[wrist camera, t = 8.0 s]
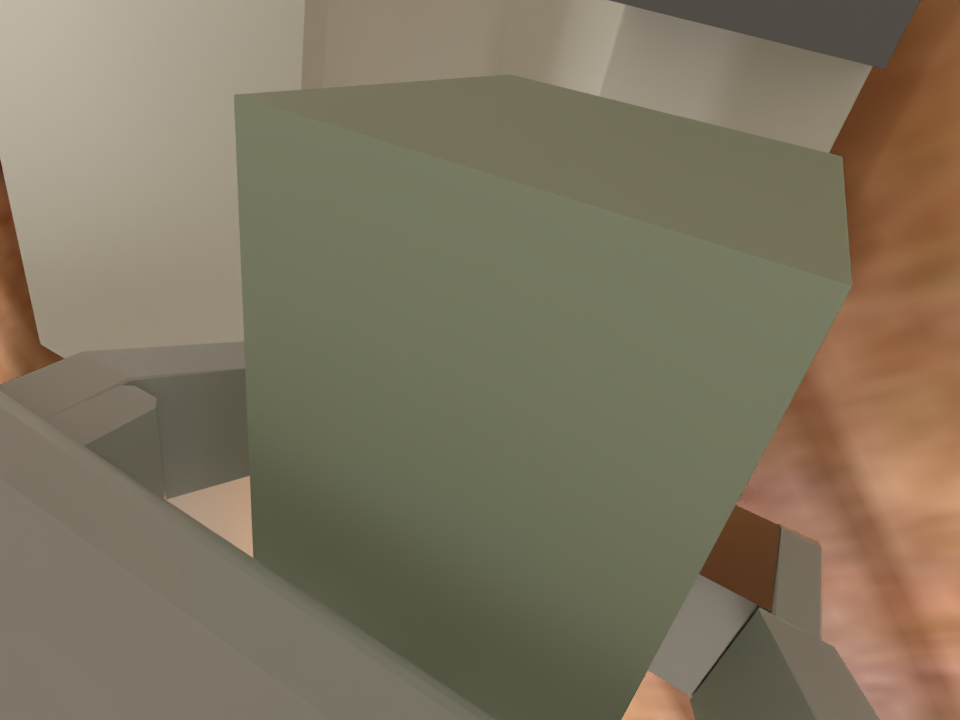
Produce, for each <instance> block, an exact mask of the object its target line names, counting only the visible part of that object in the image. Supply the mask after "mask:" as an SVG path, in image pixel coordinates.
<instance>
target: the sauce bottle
mask: <svg viewBox="0 0 960 720" xmlns="http://www.w3.org/2000/svg"><path fill="white" fill-rule="evenodd" d="M167 501H168V502H170V503H171V504H173V505H174V506H176V507H177V508H179V509H180V510H182V511H183V512H185V513H186V514H188V515H189V516H191V517H192V518H194V519H195V520H197V521H198V522H200V523H201V524H203V525H204V526H206V527H207V528H209V529H210V530H212V531H213V532H215V533H216V534H218V535H219V536H221V537H222V538H224V539H225V540H227V541H229V542H230V543H232V544H233V545H235V546H236V547H238V548H239V549H241V550H242V551H244V552H245V553H247V554H248V555H250V556H251V557H253V542H252V518H251V494H250V476H247V477H244V478H240V479H237V480H233V481H230V482H226V483H223V484H219V485H216V486H212V487H209V488H205V489H202V490H198V491H195V492H191V493H188V494H184V495H181V496H177V497H174V498H170V499H167Z"/></svg>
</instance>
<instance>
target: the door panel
mask: <svg viewBox="0 0 960 720" xmlns="http://www.w3.org/2000/svg"><path fill="white" fill-rule="evenodd" d="M234 111H235V135H236V159H237V183H238V207H239V231H240V255H241V279H242V303H243V327H244V351H245V375H246V399H247V422H248V446H249V470H250V494H251V518H252V542H253V558H254V559H256V560H257V561H259V562H260V563H262V564H263V565H265V566H266V567H268V568H269V569H271V570H272V571H274V572H275V573H277V574H278V575H280V576H281V577H283V578H284V579H286V580H287V581H289V582H290V583H292V584H293V585H295V586H296V587H298V588H299V589H301V590H302V591H304V592H305V593H307V594H308V595H310V596H311V597H313V598H314V599H316V600H317V601H319V602H320V603H322V604H323V605H325V606H327V607H328V608H330V609H331V610H333V611H334V612H336V613H337V614H339V615H340V616H342V617H343V618H345V619H346V620H348V621H349V622H351V623H352V624H354V625H355V626H357V627H358V628H360V629H361V630H363V631H364V632H366V633H367V634H369V635H370V636H372V637H373V638H375V639H376V640H378V641H379V642H381V643H382V644H384V645H385V646H387V647H388V648H390V649H391V650H393V651H394V652H396V653H397V654H399V655H400V656H402V657H403V658H405V659H406V660H408V661H409V662H411V663H412V664H414V665H415V666H417V667H418V668H420V669H421V670H423V671H424V672H426V673H428V674H429V675H431V676H432V677H434V678H435V679H437V680H438V681H440V682H441V683H443V684H444V685H446V686H447V687H449V688H450V689H452V690H453V691H455V692H456V693H458V694H459V695H461V696H462V697H464V698H465V699H467V700H468V701H470V702H471V703H473V704H474V705H476V706H477V707H479V708H480V709H482V710H483V711H485V712H487V713H488V714H490V715H491V716H493V717H494V718H496V719H497V720H621V719H622V717H623V715H624V713H625V712H626V710H627V708H628V706H629V704H630V702H631V700H632V698H633V697H634V695H635V693H636V691H637V689H638V687H639V685H640V683H641V682H642V680H643V678H644V676H645V674H646V672H647V670H648V668H649V667H650V665H651V663H652V661H653V659H654V657H655V655H656V653H657V652H658V650H659V648H660V646H661V644H662V642H663V640H664V638H665V637H666V635H667V633H668V631H669V629H670V627H671V625H672V623H673V622H674V620H675V618H676V616H677V614H678V612H679V610H680V608H681V607H682V605H683V603H684V601H685V599H686V597H687V595H688V593H689V592H690V590H691V588H692V586H693V584H694V582H695V580H696V578H697V577H698V575H699V573H700V571H701V569H702V567H703V565H704V563H705V562H706V560H707V558H708V556H709V554H710V552H711V550H712V548H713V547H714V545H715V543H716V541H717V539H718V537H719V535H720V533H721V531H722V530H723V528H724V526H725V524H726V522H727V520H728V518H729V516H730V515H731V513H732V511H733V509H734V507H735V505H736V503H737V501H738V500H739V498H740V496H741V494H742V492H743V490H744V488H745V486H746V485H747V483H748V481H749V479H750V477H751V475H752V473H753V471H754V470H755V468H756V466H757V464H758V462H759V460H760V458H761V456H762V455H763V453H764V451H765V449H766V447H767V445H768V443H769V441H770V440H771V438H772V436H773V434H774V432H775V430H776V428H777V426H778V425H779V423H780V421H781V419H782V417H783V415H784V413H785V411H786V410H787V408H788V406H789V404H790V402H791V400H792V398H793V396H794V395H795V393H796V391H797V389H798V387H799V385H800V383H801V381H802V380H803V378H804V376H805V374H806V372H807V370H808V368H809V366H810V365H811V363H812V361H813V359H814V357H815V355H816V353H817V351H818V350H819V348H820V346H821V344H822V342H823V340H824V338H825V336H826V335H827V333H828V331H829V329H830V327H831V325H832V323H833V321H834V320H835V318H836V316H837V314H838V312H839V310H840V308H841V306H842V305H843V303H844V301H845V299H846V297H847V295H848V293H849V291H850V290H851V288H852V276H851V262H850V249H849V236H848V223H847V209H846V196H845V183H844V170H843V157H842V156H838V155H834V154H830V153H826V152H822V151H818V150H814V149H810V148H806V147H802V146H798V145H794V144H790V143H786V142H782V141H778V140H774V139H770V138H766V137H762V136H758V135H753V134H749V133H745V132H741V131H737V130H733V129H729V128H725V127H721V126H717V125H713V124H709V123H705V122H701V121H697V120H693V119H689V118H685V117H681V116H677V115H673V114H669V113H665V112H661V111H656V110H652V109H648V108H644V107H640V106H636V105H632V104H628V103H624V102H620V101H616V100H612V99H608V98H604V97H600V96H596V95H592V94H588V93H584V92H580V91H576V90H572V89H568V88H564V87H559V86H555V85H551V84H547V83H543V82H539V81H535V80H531V79H527V78H523V77H519V76H515V75H511V74H508V75H495V76H481V77H467V78H454V79H440V80H427V81H413V82H399V83H386V84H372V85H358V86H345V87H331V88H318V89H304V90H290V91H277V92H263V93H250V94H236V95H234Z"/></svg>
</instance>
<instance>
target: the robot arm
mask: <svg viewBox="0 0 960 720" xmlns="http://www.w3.org/2000/svg"><path fill="white" fill-rule="evenodd" d="M247 476H250V470H249V446H248V422H247V399H246V375H245V351H244V341H243V342H227V343H211V344H194V345H178V346H162V347H146V348H129V349H113V350H97V351H83V352H80V353H78V354H75V355H73V356H70V357H68V358H65V359H63V360H60V361H58V362H55V363H53V364H50V365H48V366H45V367H43V368H40V369H38V370H35V371H33V372H30V373H28V374H25V375H23V376H20V377H18V378H15V379H13V380H10V381H8V382H5V383H3V384H0V720H497V719H496V718H494V717H493V716H491V715H490V714H488V713H487V712H485V711H483V710H482V709H480V708H479V707H477V706H476V705H474V704H473V703H471V702H470V701H468V700H467V699H465V698H464V697H462V696H461V695H459V694H458V693H456V692H455V691H453V690H452V689H450V688H449V687H447V686H446V685H444V684H443V683H441V682H440V681H438V680H437V679H435V678H434V677H432V676H431V675H429V674H428V673H426V672H424V671H423V670H421V669H420V668H418V667H417V666H415V665H414V664H412V663H411V662H409V661H408V660H406V659H405V658H403V657H402V656H400V655H399V654H397V653H396V652H394V651H393V650H391V649H390V648H388V647H387V646H385V645H384V644H382V643H381V642H379V641H378V640H376V639H375V638H373V637H372V636H370V635H369V634H367V633H366V632H364V631H363V630H361V629H360V628H358V627H357V626H355V625H354V624H352V623H351V622H349V621H348V620H346V619H345V618H343V617H342V616H340V615H339V614H337V613H336V612H334V611H333V610H331V609H330V608H328V607H327V606H325V605H323V604H322V603H320V602H319V601H317V600H316V599H314V598H313V597H311V596H310V595H308V594H307V593H305V592H304V591H302V590H301V589H299V588H298V587H296V586H295V585H293V584H292V583H290V582H289V581H287V580H286V579H284V578H283V577H281V576H280V575H278V574H277V573H275V572H274V571H272V570H271V569H269V568H268V567H266V566H265V565H263V564H262V563H260V562H259V561H257V560H256V559H254V558H253V557H251V556H250V555H248V554H247V553H245V552H244V551H242V550H241V549H239V548H238V547H236V546H235V545H233V544H232V543H230V542H229V541H227V540H225V539H224V538H222V537H221V536H219V535H218V534H216V533H215V532H213V531H212V530H210V529H209V528H207V527H206V526H204V525H203V524H201V523H200V522H198V521H197V520H195V519H194V518H192V517H191V516H189V515H188V514H186V513H185V512H183V511H182V510H180V509H179V508H177V507H176V506H174V505H173V504H171V503H170V502H168V501H167V499H170V498H174V497H177V496H181V495H184V494H188V493H191V492H195V491H198V490H202V489H205V488H209V487H212V486H216V485H219V484H223V483H226V482H230V481H233V480H237V479H240V478H244V477H247ZM648 670H649V671H650V672H652V673H653V674H655V675H657V676H658V677H660V678H662V679H663V680H665V681H666V682H668V683H670V684H671V685H673V686H674V687H676V688H678V689H679V690H681V691H683V692H684V693H686V694H687V695H689V696H691V697H692V698H691V699H690V701H691V705H692V709H693V712H694V716H695V719H696V720H880V719H879V718H878V716H877V715H876V713H875V711H874V710H873V708H872V707H871V705H870V703H869V702H868V700H867V699H866V697H865V695H864V694H863V692H862V691H861V689H860V687H859V686H858V684H857V683H856V681H855V679H854V678H853V676H852V674H851V673H850V671H849V670H848V668H847V666H846V665H845V663H844V662H843V660H842V658H841V657H840V655H839V654H838V652H837V650H836V649H835V647H833V646H831V645H830V644H828V643H826V642H824V641H822V547H821V545H820V543H819V542H818V541H816V540H814V539H811V538H809V537H807V536H805V535H802V534H800V533H798V532H796V531H793V530H791V529H789V528H787V527H785V526H782V525H780V524H775V523H773V522H771V521H769V520H767V519H765V518H763V517H761V516H759V515H756V514H754V513H752V512H750V511H748V510H746V509H744V508H742V507H739V506H737V505H735V507H734V509H733V511H732V513H731V515H730V516H729V518H728V520H727V522H726V524H725V526H724V528H723V530H722V531H721V533H720V535H719V537H718V539H717V541H716V543H715V545H714V547H713V548H712V550H711V552H710V554H709V556H708V558H707V560H706V562H705V563H704V565H703V567H702V569H701V571H700V573H699V575H698V577H697V578H696V580H695V582H694V584H693V586H692V588H691V590H690V592H689V593H688V595H687V597H686V599H685V601H684V603H683V605H682V607H681V608H680V610H679V612H678V614H677V616H676V618H675V620H674V622H673V623H672V625H671V627H670V629H669V631H668V633H667V635H666V637H665V638H664V640H663V642H662V644H661V646H660V648H659V650H658V652H657V653H656V655H655V657H654V659H653V661H652V663H651V665H650V667H649V668H648Z"/></svg>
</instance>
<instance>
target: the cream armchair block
mask: <svg viewBox="0 0 960 720" xmlns="http://www.w3.org/2000/svg"><path fill="white" fill-rule="evenodd" d="M919 2H920V0H0V160H1V165H2V169H3V174H4V179H5V183H6V188H7V192H8V197H9V202H10V206H11V211H12V215H13V220H14V225H15V229H16V234H17V239H18V243H19V248H20V252H21V257H22V262H23V266H24V271H25V275H26V280H27V285H28V289H29V294H30V298H31V303H32V308H33V312H34V317H35V322H36V326H37V331H38V335H39V340H40V344H41V345H43V346H44V347H46V348H48V349H49V350H51V351H53V352H54V353H56V354H58V355H59V356H61V357H63V358H64V359H65V358H68V357H70V356H73V355H75V354H78V353H80V352H83V351H97V350H113V349H129V348H146V347H162V346H178V345H194V344H211V343H227V342H243V341H244V327H243V303H242V279H241V255H240V231H239V207H238V183H237V159H236V135H235V111H234V95H236V94H250V93H263V92H277V91H290V90H304V89H318V88H331V87H345V86H358V85H372V84H386V83H399V82H413V81H427V80H440V79H454V78H467V77H481V76H495V75H508V74H511V75H515V76H519V77H523V78H527V79H531V80H535V81H539V82H543V83H547V84H551V85H555V86H559V87H564V88H568V89H572V90H576V91H580V92H584V93H588V94H592V95H596V96H600V97H604V98H608V99H612V100H616V101H620V102H624V103H628V104H632V105H636V106H640V107H644V108H648V109H652V110H656V111H661V112H665V113H669V114H673V115H677V116H681V117H685V118H689V119H693V120H697V121H701V122H705V123H709V124H713V125H717V126H721V127H725V128H729V129H733V130H737V131H741V132H745V133H749V134H753V135H758V136H762V137H766V138H770V139H774V140H778V141H782V142H786V143H790V144H794V145H798V146H802V147H806V148H810V149H814V150H818V151H822V152H826V153H829V152H830V150H831V148H832V146H833V144H834V142H835V140H836V138H837V136H838V134H839V132H840V130H841V128H842V126H843V124H844V122H845V120H846V118H847V116H848V114H849V112H850V110H851V108H852V106H853V104H854V102H855V100H856V98H857V96H858V94H859V92H860V90H861V88H862V87H863V85H864V83H865V81H866V79H867V77H868V75H869V73H870V71H871V69H872V67H873V66H874V67H878V68H882V69H885V68H886V66H887V64H888V62H889V60H890V58H891V56H892V54H893V52H894V51H895V49H896V47H897V45H898V43H899V41H900V39H901V37H902V35H903V33H904V31H905V29H906V27H907V25H908V23H909V21H910V20H911V18H912V16H913V14H914V12H915V10H916V8H917V6H918V4H919Z"/></svg>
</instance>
